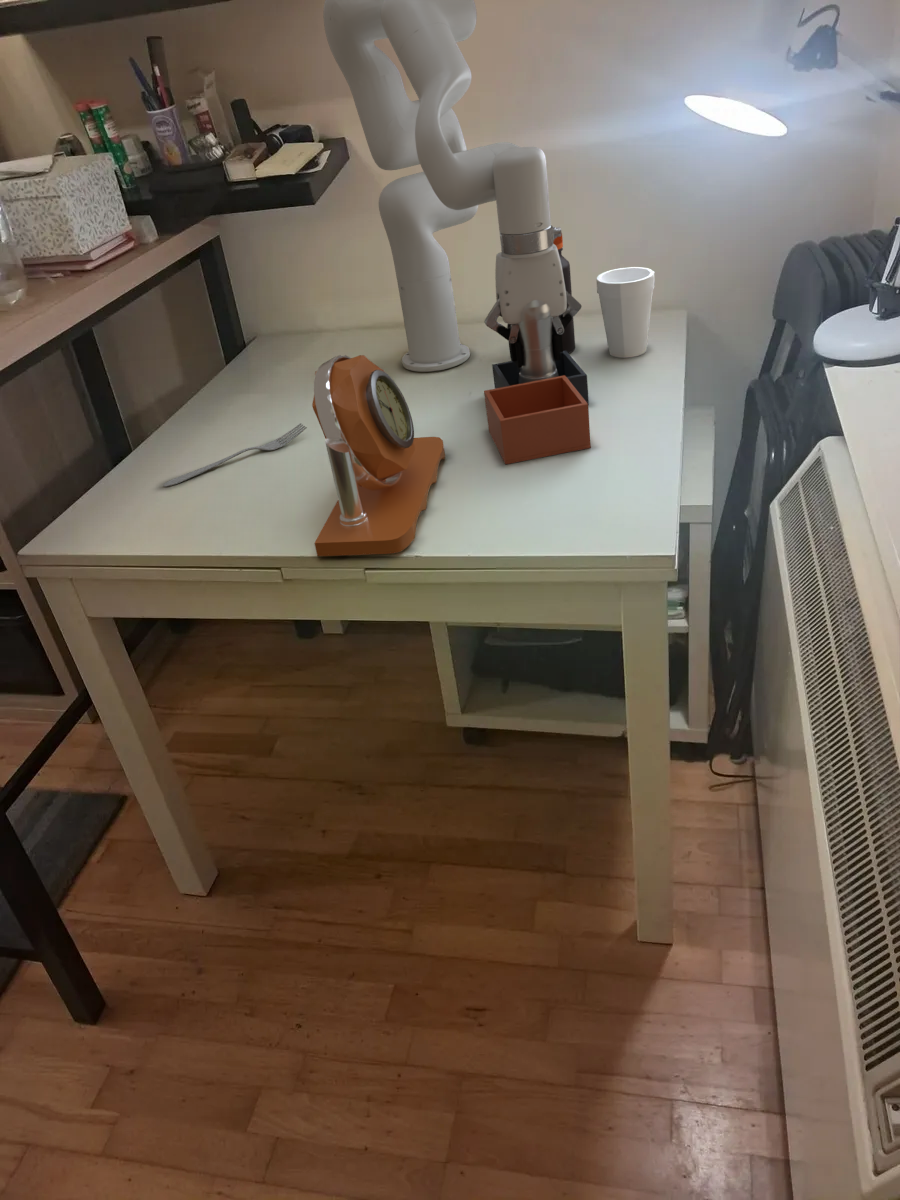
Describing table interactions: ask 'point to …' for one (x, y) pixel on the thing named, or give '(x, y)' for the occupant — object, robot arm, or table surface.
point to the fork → (269, 446)
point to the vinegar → (568, 334)
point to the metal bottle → (536, 343)
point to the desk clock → (371, 459)
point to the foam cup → (626, 309)
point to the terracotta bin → (537, 419)
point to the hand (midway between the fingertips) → (537, 360)
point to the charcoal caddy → (565, 366)
